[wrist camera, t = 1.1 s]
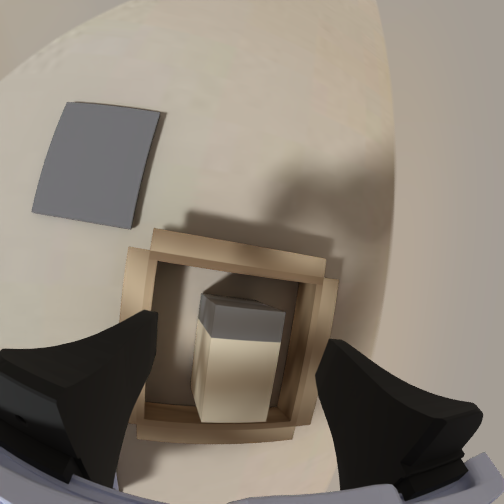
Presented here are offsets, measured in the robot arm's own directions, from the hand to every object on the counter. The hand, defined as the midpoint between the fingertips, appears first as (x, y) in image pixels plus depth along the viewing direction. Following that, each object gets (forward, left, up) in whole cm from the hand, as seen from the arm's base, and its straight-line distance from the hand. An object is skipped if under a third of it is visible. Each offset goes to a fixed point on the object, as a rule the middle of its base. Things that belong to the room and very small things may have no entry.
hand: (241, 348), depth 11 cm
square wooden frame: (-3, -2, -11) cm, 12 cm away
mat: (+10, +11, -11) cm, 19 cm away
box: (-3, -2, -11) cm, 12 cm away
